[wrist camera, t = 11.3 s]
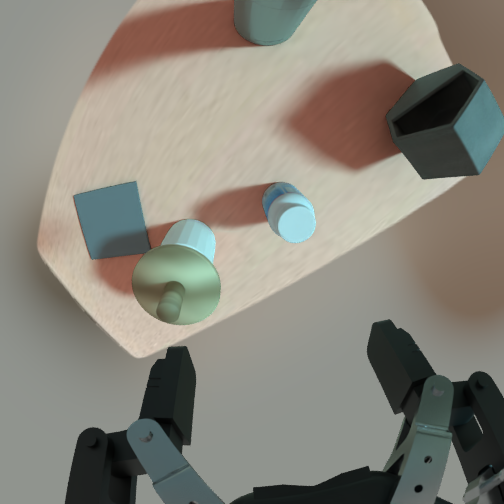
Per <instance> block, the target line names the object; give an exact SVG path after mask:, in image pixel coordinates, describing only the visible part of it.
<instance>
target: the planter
mask: <svg viewBox="0 0 504 504" xmlns="http://www.w3.org/2000/svg"><path fill="white" fill-rule="evenodd" d="M386 118H387V122H388V125H389V128H390V132H391V136H392V139H393V142H394V143H395V144H396V146H397V147H398V148H399V149H400V151H401V152H402V153H403V154H404V156H405V157H406V158H407V159H408V161H409V162H410V163H411V165H412V166H413V167H414V169H415V170H416V171H417V173H418V174H419V175H420V177H421V178H422V179H434V178H446V177H458V176H473V175H479V174H480V173H481V172H482V170H483V169H484V167H485V166H486V164H487V162H488V161H489V159H490V157H491V156H492V154H493V152H494V151H495V149H496V147H497V145H498V144H499V142H500V140H501V138H502V137H503V135H504V116H503V114H502V112H501V110H500V108H499V106H498V104H497V102H496V100H495V98H494V96H493V94H492V93H491V91H490V89H489V87H488V85H487V84H486V82H485V80H484V79H483V78H481V77H480V76H478V75H477V74H475V73H474V72H472V71H470V70H469V69H467V68H466V67H464V66H462V65H461V64H456V65H453V66H450V67H447V68H444V69H442V70H439V71H437V72H434V73H431V74H429V75H426V76H424V77H421V78H419V79H417V80H415V81H414V82H413V84H412V85H411V86H410V87H409V88H408V90H407V91H406V92H405V93H404V94H403V96H402V97H401V98H400V99H399V100H398V101H397V103H396V104H395V105H394V106H393V107H392V109H391V110H390V111H389V112H388V113H387V115H386Z"/></svg>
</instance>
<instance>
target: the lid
mask: <svg viewBox="0 0 504 504" xmlns="http://www.w3.org/2000/svg"><path fill="white" fill-rule="evenodd" d="M132 288H133V292H134V295H135V297H136V299H137V301H138V303H139V304H140V305H141V307H142V308H143V309H144V310H145V311H146V312H147V313H149V314H150V315H151V316H153V317H154V318H156V319H158V320H160V321H163V322H166V323H169V324H174V325H189V324H194V323H197V322H200V321H202V320H204V319H205V318H207V317H208V316H209V315H210V314H211V313H212V312H213V311H214V310H215V308H216V307H217V305H218V302H219V299H220V289H221V284H220V278H219V275H218V272H217V270H216V269H215V267H214V265H213V264H212V263H211V261H210V260H209V259H208V258H207V257H205V256H204V255H203V254H202V253H200V252H198V251H197V250H195V249H192V248H190V247H187V246H183V245H178V244H166V245H161V246H158V247H155V248H153V249H151V250H149V251H148V252H147V253H145V254H144V255H143V256H142V258H141V259H140V260H139V262H138V263H137V265H136V267H135V269H134V272H133V275H132Z"/></svg>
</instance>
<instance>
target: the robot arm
mask: <svg viewBox="0 0 504 504" xmlns="http://www.w3.org/2000/svg"><path fill="white" fill-rule="evenodd" d="M316 1H317V0H234V25H235V27H236V30H237V31H238V33H239V34H240V35H241V36H242V37H243V38H245V39H246V40H248V41H250V42H252V43H255V44H259V45H267V46H269V45H276V44H280V43H282V42H284V41H286V40H287V39H289V38H290V37H291V36H292V34H293V33H294V32H295V30H296V29H297V27H298V26H299V25H300V23H301V22H302V21H303V19H304V18H305V16H306V15H307V14H308V12H309V11H310V9H311V8H312V7H313V5H314V4H315V3H316ZM367 355H368V359H369V361H370V363H371V365H372V367H373V369H374V371H375V373H376V375H377V378H378V380H379V382H380V384H381V386H382V388H383V390H384V392H385V395H386V397H387V399H388V401H389V403H390V406H391V408H392V410H393V412H394V414H398V413H401V412H403V413H404V415H405V417H404V419H403V422H402V425H401V429H400V432H399V434H398V437H397V440H396V443H395V446H394V449H393V452H392V454H391V456H390V458H389V459H388V461H387V463H386V465H385V467H384V469H383V471H370V469H369V466H366V467H363V468H359V469H356V470H352V471H349V472H345V473H341V474H340V475H338V476H335V477H333V478H331V479H329V480H327V481H325V482H322V483H320V484H318V485H315V486H297V485H274V486H265V487H254V488H253V493H249V494H247V495H244V496H241V497H240V498H238V499H236V500H234V501H233V502H231V503H230V504H452V503H450V502H447V501H446V500H443V499H441V498H439V497H437V494H438V491H439V487H440V484H441V481H442V477H443V474H444V470H445V466H446V463H447V458H448V454H449V450H450V446H451V441H452V442H453V445H454V447H455V449H456V452H457V455H458V457H459V460H460V462H461V465H462V468H463V471H464V474H465V476H466V480H467V482H468V486H467V488H466V491H465V494H464V496H463V501H464V502H465V504H504V398H503V396H502V394H501V393H500V391H499V389H498V387H497V386H496V384H495V383H494V381H493V379H492V378H491V377H490V376H489V375H488V374H487V373H485V372H481V371H478V372H475V373H473V374H472V375H471V376H470V378H469V379H468V381H459V382H451V381H450V380H449V379H448V378H446V377H445V376H442V375H436V373H435V372H434V370H433V369H432V367H431V366H430V364H429V363H428V361H427V359H426V358H425V356H424V355H423V353H422V352H421V351H420V350H419V347H418V346H417V345H416V344H415V341H414V340H413V339H412V337H411V336H410V334H409V333H407V332H406V331H404V330H403V329H402V328H399V329H397V328H396V327H395V325H394V324H393V322H392V321H391V320H390V319H388V320H384V321H379V322H375V323H373V325H372V329H371V333H370V337H369V342H368V346H367ZM195 387H196V373H195V369H194V366H193V363H192V360H191V357H190V354H189V351H188V349H187V347H186V346H178V347H168V349H167V353H166V358H165V359H158V360H157V361H156V362H155V364H154V365H153V366H152V368H151V371H150V375H149V380H148V383H147V388H146V391H145V395H144V399H143V403H142V407H141V412H140V416H139V419H138V420H137V421H135V422H134V423H132V424H131V425H130V427H129V428H128V429H127V430H124V431H120V432H114V433H108V434H106V433H104V431H102V430H101V429H99V428H94V427H93V428H88V429H86V430H84V431H83V432H82V433H81V434H80V435H79V437H78V440H77V444H76V449H75V453H74V457H73V462H72V466H71V471H70V477H69V482H68V487H67V493H66V500H65V504H135V500H136V485H137V475H143V474H148V475H149V477H150V478H151V479H152V482H153V487H154V489H155V490H156V492H157V494H158V495H159V496H160V498H161V499H162V501H163V502H164V503H165V504H225V503H224V502H223V501H222V500H221V499H220V498H219V497H218V496H217V495H216V494H215V493H214V492H213V491H212V489H211V488H210V487H209V486H208V485H207V484H206V483H205V482H204V481H203V479H202V478H201V477H200V476H199V475H198V474H197V472H196V471H195V470H194V469H193V468H192V467H191V465H190V464H189V463H188V462H187V460H186V459H185V458H184V457H183V455H182V446H183V445H190V444H191V432H192V420H193V409H194V397H195ZM474 415H475V416H476V418H477V420H478V422H479V424H480V426H481V428H482V430H483V434H482V431H481V429H480V427H479V425H478V423H477V421H476V419H475V417H474Z"/></svg>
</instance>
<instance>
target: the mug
mask: <svg viewBox="0 0 504 504" xmlns="http://www.w3.org/2000/svg"><path fill="white" fill-rule="evenodd" d="M215 243H216V241H215V237H214V234H213V233H212V231H211V229H210V228H209V227H208V226H207V225H205V224H204V223H203V222H200V221H198V220H193V219H186V220H181V221H179V222H177V223H175V224H174V225H173V226H172V227H171V228H170V229H169V231H168V233H167V234H166V236H165V238H164V240H163V241H162V243H161V245H166V244H178V245H183V246H187V247H190V248H192V249H195V250H197V251H198V252H200V253H202V254H203V255H204V256H205V257H207V258H208V259H209V260H210V261H211V263H212V264H213V259H214V252H215ZM161 245H160V246H161Z"/></svg>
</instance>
